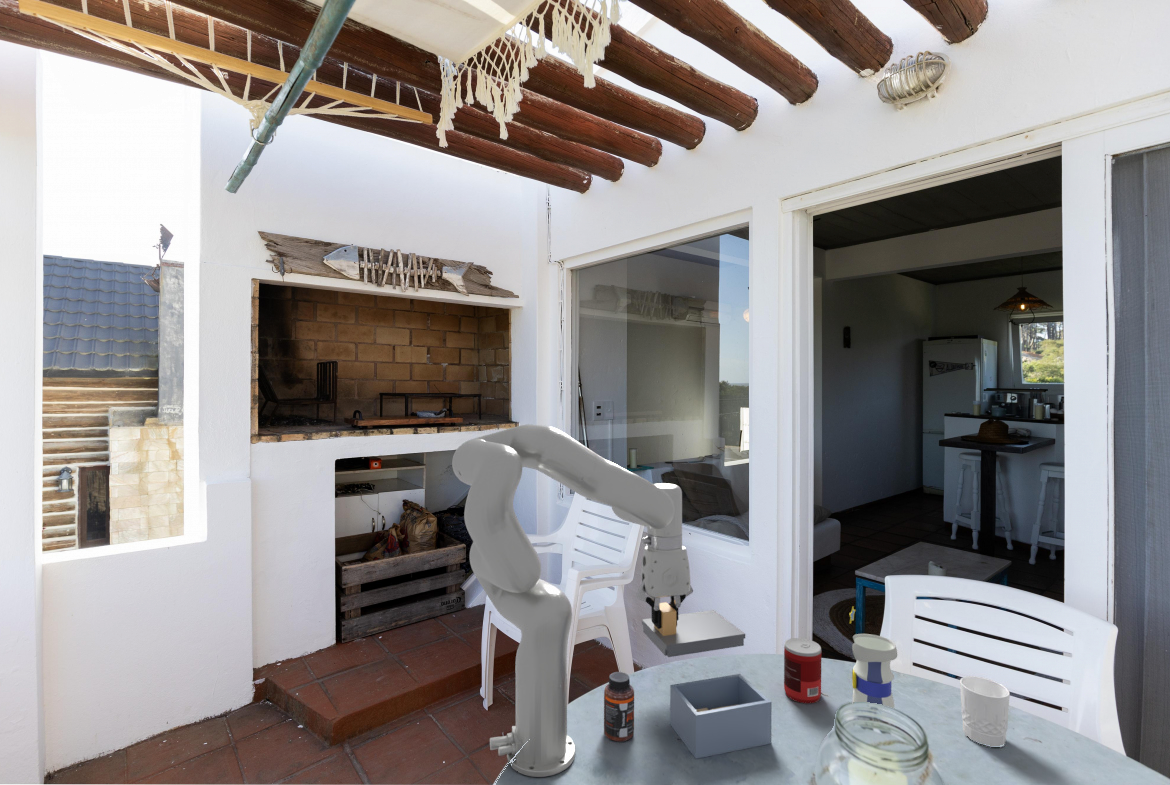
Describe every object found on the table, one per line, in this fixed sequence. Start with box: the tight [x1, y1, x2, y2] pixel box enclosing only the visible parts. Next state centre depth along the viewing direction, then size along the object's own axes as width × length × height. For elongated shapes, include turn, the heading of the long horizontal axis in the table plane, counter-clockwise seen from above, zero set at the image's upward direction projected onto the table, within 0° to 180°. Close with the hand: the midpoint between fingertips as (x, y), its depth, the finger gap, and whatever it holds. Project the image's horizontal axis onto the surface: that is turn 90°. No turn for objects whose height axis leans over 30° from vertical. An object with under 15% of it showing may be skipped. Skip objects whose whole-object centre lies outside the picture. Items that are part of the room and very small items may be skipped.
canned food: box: [783, 637, 822, 704], centre depth 125 cm, size 8×8×11 cm
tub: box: [669, 673, 773, 760], centre depth 111 cm, size 16×11×8 cm
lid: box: [641, 602, 746, 658], centre depth 124 cm, size 18×13×8 cm
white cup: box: [959, 675, 1011, 746], centre depth 110 cm, size 8×8×10 cm
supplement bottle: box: [603, 671, 635, 742], centre depth 111 cm, size 6×6×11 cm
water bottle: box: [849, 606, 898, 709], centre depth 108 cm, size 8×9×25 cm
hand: (665, 624), depth 123 cm, fingers closed on lid, 3 cm apart
